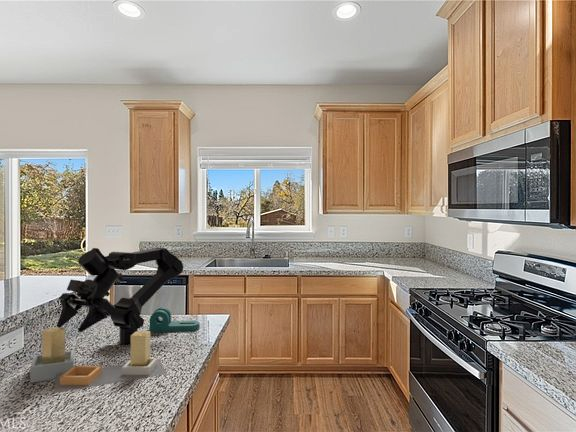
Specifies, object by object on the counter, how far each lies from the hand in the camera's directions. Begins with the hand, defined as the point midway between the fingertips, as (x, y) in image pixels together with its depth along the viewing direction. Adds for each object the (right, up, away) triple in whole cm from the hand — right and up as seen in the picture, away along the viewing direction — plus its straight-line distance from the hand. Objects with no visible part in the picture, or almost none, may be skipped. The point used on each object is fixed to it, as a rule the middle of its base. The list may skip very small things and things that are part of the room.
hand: (68, 329), depth 116 cm
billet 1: (-2, -9, -4) cm, 10 cm away
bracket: (+20, -11, +39) cm, 45 cm away
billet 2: (+23, -10, -5) cm, 25 cm away
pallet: (+15, -11, -8) cm, 21 cm away
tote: (-2, -11, -4) cm, 12 cm away
